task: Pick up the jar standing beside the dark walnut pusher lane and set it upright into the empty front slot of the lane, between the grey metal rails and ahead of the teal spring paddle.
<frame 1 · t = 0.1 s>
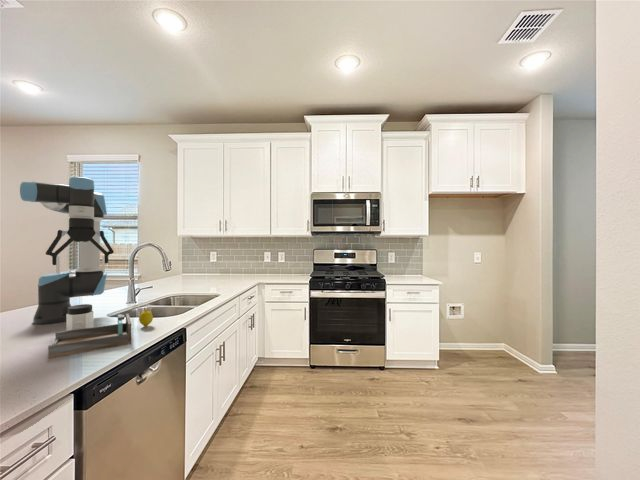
hand: (81, 272, 113), 28 cm above the countertop, tool pointing down, fingers open, 13 cm apart
pusher: (121, 325, 120), point 5 cm above the countertop, slide at 0.0 cm
jar: (80, 334, 125), on the countertop
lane: (93, 343, 115), on the countertop
fruit: (146, 326, 136), on the countertop
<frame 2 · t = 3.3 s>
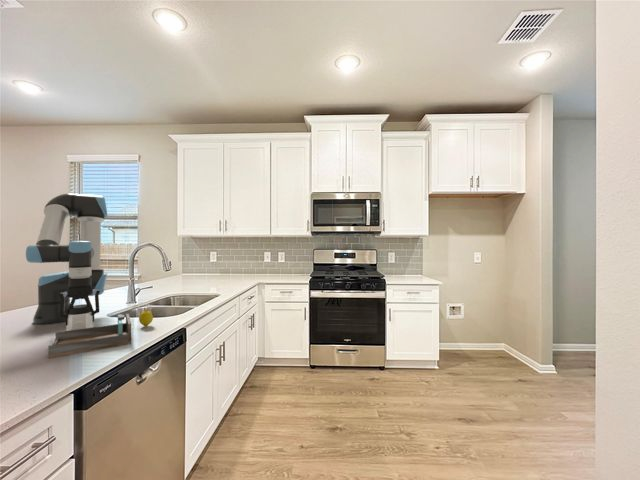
hand: (80, 331, 125), 1 cm above the countertop, tool pointing down, fingers open, 6 cm apart
nothing on the countertop moved.
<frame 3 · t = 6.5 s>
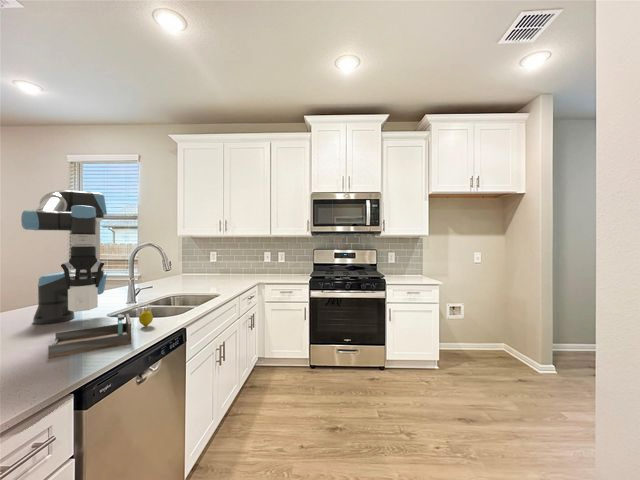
hand: (83, 306, 113), 15 cm above the countertop, tool pointing down, fingers open, 2 cm apart
jar: (83, 309, 113), point 14 cm above the countertop, touching hand
everything else where it was.
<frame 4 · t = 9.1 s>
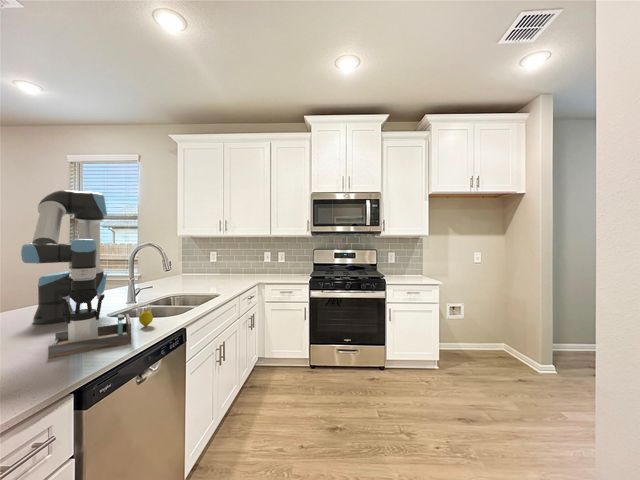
hand: (83, 339, 113), 2 cm above the countertop, tool pointing down, fingers open, 2 cm apart
jar: (83, 342, 113), point 1 cm above the countertop, touching hand, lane
everything else where it was.
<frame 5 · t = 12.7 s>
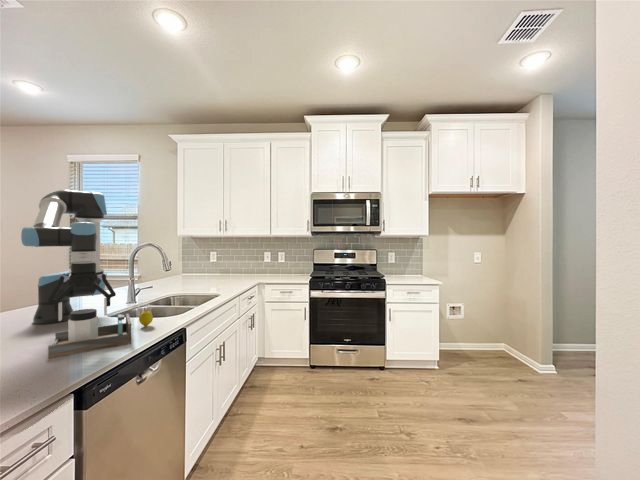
hand: (83, 317, 113), 11 cm above the countertop, tool pointing down, fingers open, 13 cm apart
jar: (83, 342, 113), point 1 cm above the countertop, touching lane
everything else where it was.
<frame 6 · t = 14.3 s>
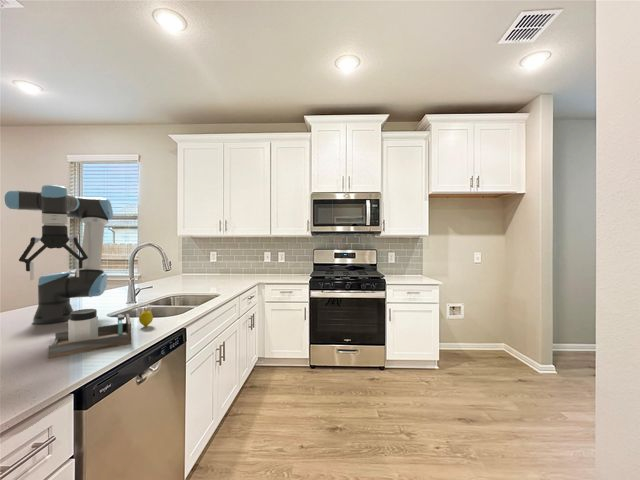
hand: (55, 278, 117), 25 cm above the countertop, tool pointing down, fingers open, 13 cm apart
nothing on the countertop moved.
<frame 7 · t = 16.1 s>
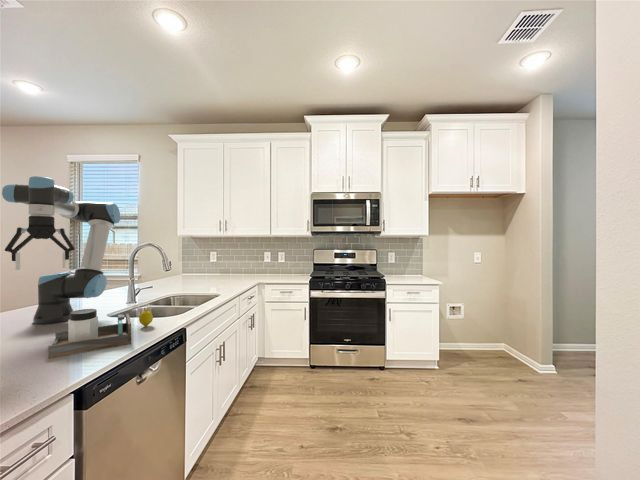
hand: (41, 268, 117), 29 cm above the countertop, tool pointing down, fingers open, 13 cm apart
nothing on the countertop moved.
at the end: jar inside the target area on the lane (0.4 cm from its centre), point 0.8 cm above the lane's base; jar tilted 0°; the gripper is holding nothing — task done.
